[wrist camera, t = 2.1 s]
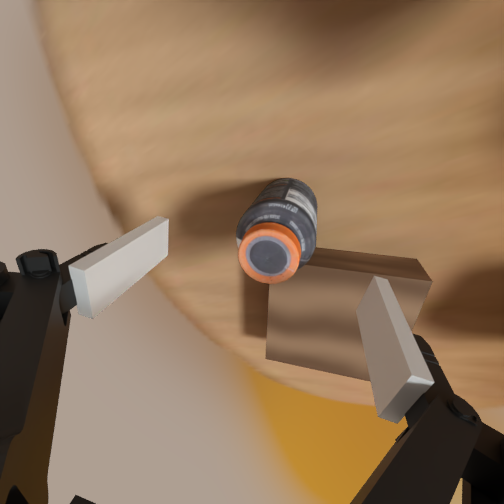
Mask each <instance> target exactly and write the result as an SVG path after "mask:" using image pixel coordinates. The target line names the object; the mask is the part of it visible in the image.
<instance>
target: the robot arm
mask: <svg viewBox="0 0 504 504" xmlns="http://www.w3.org/2000/svg"><path fill="white" fill-rule="evenodd" d="M168 224H169V219H167V218H163V217H160V216H157V217H155V218H153V219H152V220H150V221H148V222H146V223H144V224H143V225H141V226H139V227H137V228H135V229H134V230H132V231H130V232H128V233H126V234H125V235H123V236H121V237H119V238H117V239H116V240H114V241H112V242H110V243H104V244H100V245H96V246H94V247H92V248H90V249H88V250H87V251H85V252H83V253H81V254H80V255H77V256H75V257H73V258H72V259H70V260H68V261H66V262H64V263H62V264H60V265H59V263H58V259H57V255H56V253H55V252H54V251H52V250H47V249H46V250H45V249H38V250H32V251H28V252H25V253H23V254H21V255H19V256H18V257H17V258H16V261H17V265H18V267H19V270H20V273H17V272H8V270H7V268H6V265H5V263H3V262H0V504H48V484H47V475H48V467H49V459H50V454H51V446H52V440H53V433H54V427H55V419H56V413H57V406H58V399H59V393H60V386H61V379H62V372H63V365H64V359H65V352H66V345H67V338H68V332H69V325H70V318H71V314H70V309H72V308H73V307H74V306H76V305H77V308H78V313H79V314H80V315H83V316H85V317H88V318H91V319H94V318H95V317H96V316H97V315H98V314H99V313H101V312H102V311H103V310H104V309H105V308H107V307H108V306H109V305H110V304H111V303H112V302H114V301H115V300H116V299H117V298H118V297H119V296H121V295H122V294H123V293H124V292H125V291H127V289H129V288H130V287H131V286H132V285H133V284H135V283H136V282H137V281H138V280H139V279H141V278H142V277H143V276H144V275H145V274H146V273H148V272H149V271H150V270H151V269H152V268H153V267H155V266H156V265H157V264H158V263H159V262H161V261H162V260H163V259H164V258H165V257H166V256H168ZM356 313H357V318H358V323H359V328H360V332H361V337H362V342H363V347H364V352H365V356H366V361H367V366H368V371H369V376H370V380H371V385H372V390H373V395H374V400H375V405H376V409H377V414H378V417H380V418H383V419H386V420H389V421H391V422H394V423H398V422H399V421H400V420H401V419H402V418H403V417H404V416H405V417H406V420H407V424H408V427H407V428H406V429H405V430H404V431H403V432H402V433H401V434H400V435H399V436H398V437H397V439H396V442H395V444H394V445H393V446H392V448H391V449H390V450H389V452H388V453H387V454H386V456H385V457H384V458H383V460H382V461H381V462H380V464H379V465H378V466H377V468H376V469H375V471H374V472H373V473H372V475H371V476H370V477H369V479H368V480H367V482H366V483H365V484H364V485H363V487H362V488H361V489H360V491H359V492H358V494H357V495H356V496H355V498H354V499H353V500H352V502H351V503H350V504H450V502H451V499H452V497H453V495H454V492H455V490H456V488H457V485H458V483H459V481H460V478H463V485H462V504H504V435H503V434H502V433H500V432H498V431H496V430H495V429H493V428H491V427H489V426H488V425H486V424H484V423H483V422H482V421H481V419H480V417H479V415H478V414H477V412H476V411H475V410H474V408H473V407H472V406H471V405H469V404H468V403H467V402H466V401H465V400H464V399H462V398H461V397H459V396H457V395H456V394H454V392H453V390H452V388H451V386H450V384H449V382H448V380H447V378H446V377H445V375H444V373H443V371H442V369H441V367H440V366H439V363H438V361H437V359H436V357H434V356H435V355H434V353H433V351H432V349H431V347H430V346H429V344H428V343H427V342H426V341H425V340H424V339H423V338H422V337H421V336H419V335H416V334H412V332H411V330H410V327H409V325H408V323H407V321H406V319H405V316H404V314H403V312H402V310H401V308H400V306H399V303H398V301H397V299H396V297H395V295H394V292H393V290H392V288H391V286H390V284H389V282H388V279H384V278H380V277H377V276H374V277H373V279H372V281H371V283H370V285H369V287H368V289H367V290H366V292H365V294H364V296H363V298H362V300H361V302H360V304H359V306H358V308H357V310H356ZM70 504H95V503H93V502H91V501H89V500H86V499H84V498H82V497H79V496H77V495H75V497H74V498H73V500H72V501H71V503H70Z"/></svg>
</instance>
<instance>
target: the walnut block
mask: <svg viewBox="0 0 504 504" xmlns="http://www.w3.org/2000/svg"><path fill="white" fill-rule="evenodd" d="M374 276H377V277H380V278H384V279H388V282H389V284H390V286H391V288H392V290H393V292H394V295H395V297H396V299H397V301H398V303H399V306H400V308H401V310H402V312H403V314H404V316H405V319H406V321H407V323H408V325H409V327H410V330H411V331H412V329H413V327H414V324H415V322H416V320H417V317H418V315H419V313H420V310H421V308H422V305H423V303H424V301H425V298H426V296H427V294H428V291H429V289H430V287H431V284H432V282H433V281H432V280H431V278H430V277H429V276H428V274H427V273H426V271H425V270H424V268H423V267H422V266H421V264H420V263H419V261H418V260H417V259H411V258H402V257H393V256H385V255H376V254H367V253H358V252H350V251H341V250H332V249H323V248H315V250H314V253H313V255H312V257H311V258H310V260H309V261H308V262H307V263H306V264H305V265H304V266H303V267H302V268H300V269H298V270H297V271H296V272H295V273H294V275H293V276H291V277H290V278H289V279H288V280H286V281H284V282H281V283H277V284H269V301H268V321H267V340H266V359H269V360H273V361H278V362H283V363H287V364H292V365H296V366H301V367H306V368H310V369H315V370H320V371H324V372H329V373H333V374H338V375H343V376H347V377H352V378H357V379H361V380H366V381H370V382H371V380H370V376H369V371H368V366H367V361H366V356H365V352H364V347H363V342H362V337H361V332H360V328H359V323H358V318H357V313H356V310H357V308H358V306H359V304H360V302H361V300H362V298H363V296H364V294H365V292H366V290H367V289H368V287H369V285H370V283H371V281H372V279H373V277H374Z"/></svg>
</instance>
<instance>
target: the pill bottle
mask: <svg viewBox="0 0 504 504" xmlns="http://www.w3.org/2000/svg"><path fill="white" fill-rule="evenodd" d="M316 229H317V201H316V197H315V195H314V193H313V191H312V190H311V189H310V187H309V186H307V185H306V184H305V183H303V182H302V181H299V180H297V179H293V178H283V179H278V180H276V181H274V182H272V183H270V184H269V185H268V186H267V187H266V188H265V189H264V190H263V191H262V192H261V194H260V195H259V196H258V197H257V199H256V200H255V201H254V202H253V203H252V205H251V206H250V207H249V208H248V210H247V211H246V212H245V213H244V214H243V216H242V217H241V219H240V221H239V223H238V226H237V232H236V239H237V245H238V248H239V250H238V258H239V262H240V265H241V267H242V269H243V270H244V271H245V272H246V273H247V274H248V275H249V276H250V277H251V278H253V279H255V280H257V281H259V282H262V283H267V284H277V283H281V282H284V281H286V280H288V279H289V278H290V277H291V276H293V275H294V273H295V272H296V271H297V270H298V269H300V268H302V267H303V266H304V265H305V264H306V263H307V262H308V261H309V260H310V258H311V257H312V255H313V253H314V250H315V246H316Z"/></svg>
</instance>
